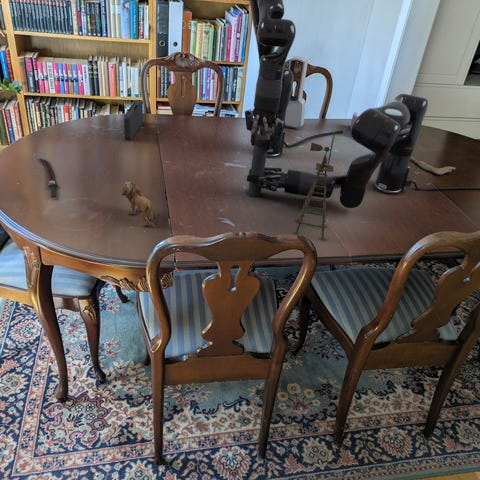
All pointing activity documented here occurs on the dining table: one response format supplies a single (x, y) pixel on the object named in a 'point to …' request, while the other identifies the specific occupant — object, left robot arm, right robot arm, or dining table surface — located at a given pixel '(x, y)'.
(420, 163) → the jawbone
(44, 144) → the dining table surface
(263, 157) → the dark grey cylinder
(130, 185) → the lion figurine
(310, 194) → the miniature windmill
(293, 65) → the electronic device
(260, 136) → the lid
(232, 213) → the dining table surface
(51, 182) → the sword
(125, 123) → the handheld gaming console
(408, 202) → the dining table surface
